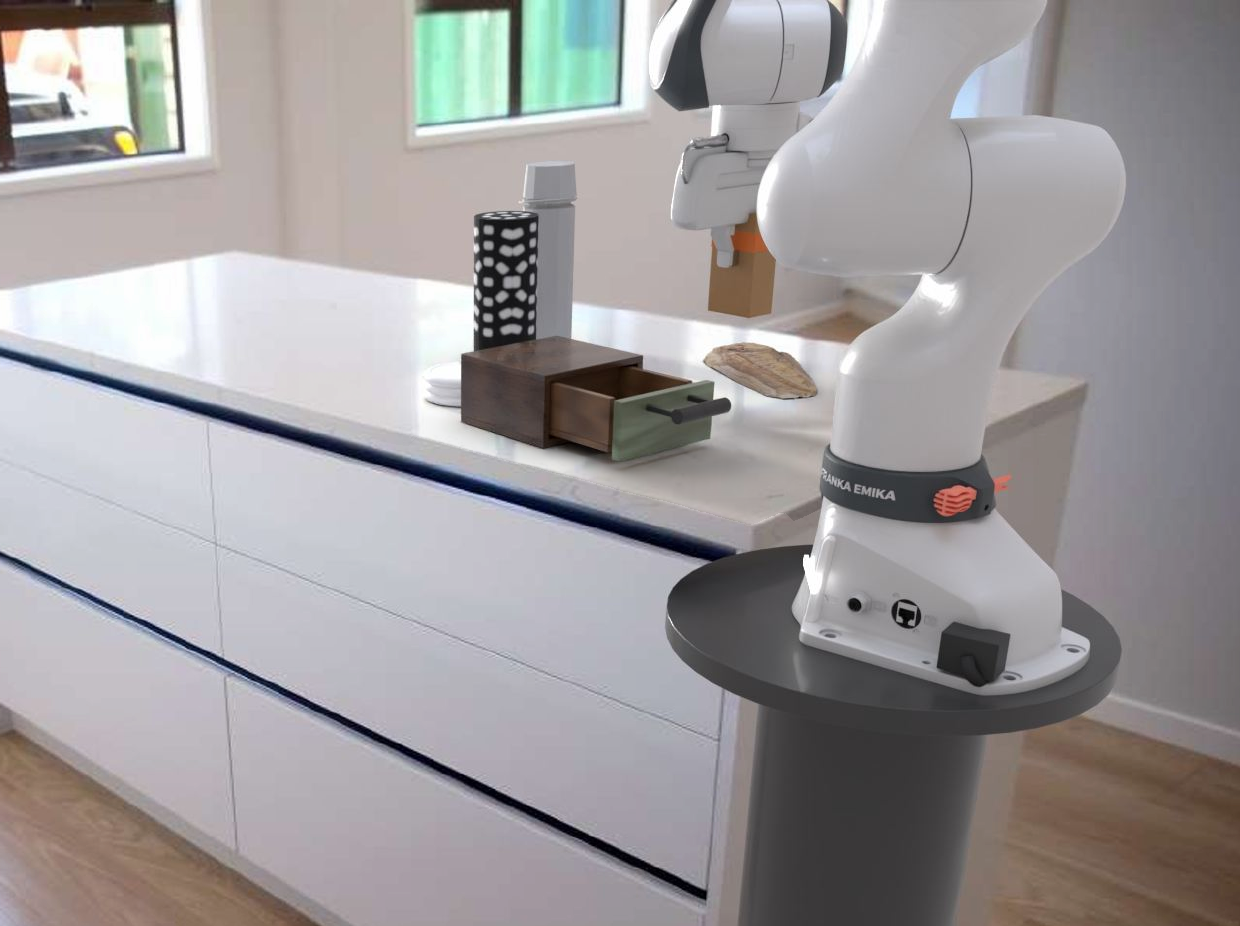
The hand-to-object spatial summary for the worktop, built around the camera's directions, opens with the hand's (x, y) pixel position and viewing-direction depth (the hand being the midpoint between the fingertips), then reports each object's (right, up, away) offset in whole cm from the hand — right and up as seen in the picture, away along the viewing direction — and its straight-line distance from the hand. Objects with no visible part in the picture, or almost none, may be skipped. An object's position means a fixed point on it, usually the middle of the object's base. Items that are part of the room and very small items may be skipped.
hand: (743, 263), depth 155 cm
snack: (0, -5, +2) cm, 5 cm away
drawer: (-12, -20, -2) cm, 23 cm away
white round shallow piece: (-28, -11, +22) cm, 38 cm away
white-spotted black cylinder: (-21, -5, +36) cm, 42 cm away
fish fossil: (+11, -8, +27) cm, 30 cm away
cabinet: (-20, -16, +10) cm, 27 cm away
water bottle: (-14, 0, +48) cm, 50 cm away
